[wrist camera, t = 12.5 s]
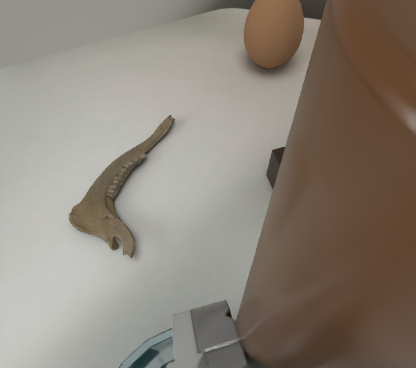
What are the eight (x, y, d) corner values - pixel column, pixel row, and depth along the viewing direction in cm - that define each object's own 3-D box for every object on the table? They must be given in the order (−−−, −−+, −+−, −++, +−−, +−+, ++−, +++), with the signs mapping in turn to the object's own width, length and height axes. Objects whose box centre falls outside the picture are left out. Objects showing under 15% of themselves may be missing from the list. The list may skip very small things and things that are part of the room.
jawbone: (61, 253, 34) (50, 246, 32) (116, 118, 45) (111, 107, 43) (138, 262, 32) (131, 255, 31) (176, 119, 43) (173, 108, 41)
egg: (267, 89, 46) (280, 13, 36) (231, 61, 49) (233, -14, 39) (306, 65, 48) (327, -12, 38) (268, 40, 51) (279, -36, 42)
